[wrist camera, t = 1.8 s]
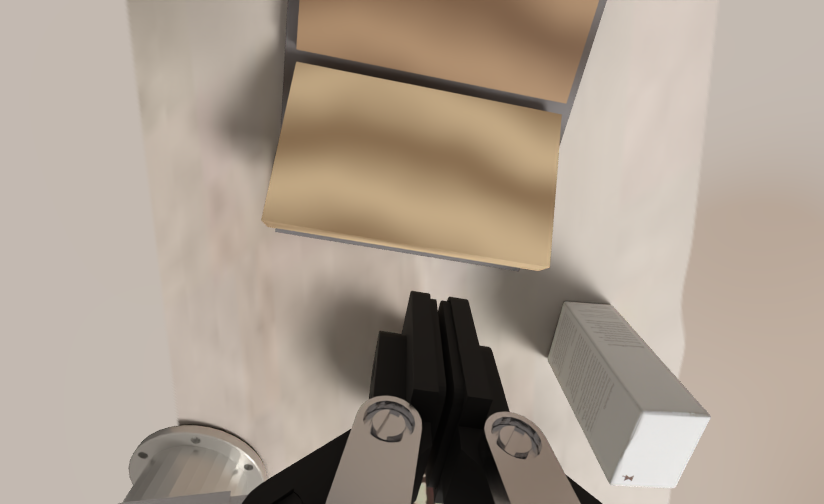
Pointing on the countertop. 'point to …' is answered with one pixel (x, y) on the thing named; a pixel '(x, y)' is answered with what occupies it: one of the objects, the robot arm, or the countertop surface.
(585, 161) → the countertop surface
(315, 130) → the oak plank
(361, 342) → the countertop surface
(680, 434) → the skincare box
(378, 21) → the floor board
